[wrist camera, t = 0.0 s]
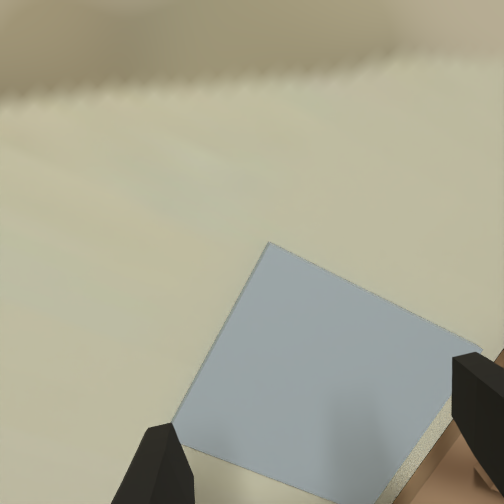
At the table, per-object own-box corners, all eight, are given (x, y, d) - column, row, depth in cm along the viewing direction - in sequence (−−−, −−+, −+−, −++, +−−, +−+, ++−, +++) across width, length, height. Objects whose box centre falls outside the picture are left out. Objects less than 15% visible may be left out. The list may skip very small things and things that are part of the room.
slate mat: (363, 507, 25) (366, 514, 24) (165, 431, 22) (164, 437, 22) (477, 345, 22) (482, 349, 22) (268, 241, 20) (269, 244, 19)
